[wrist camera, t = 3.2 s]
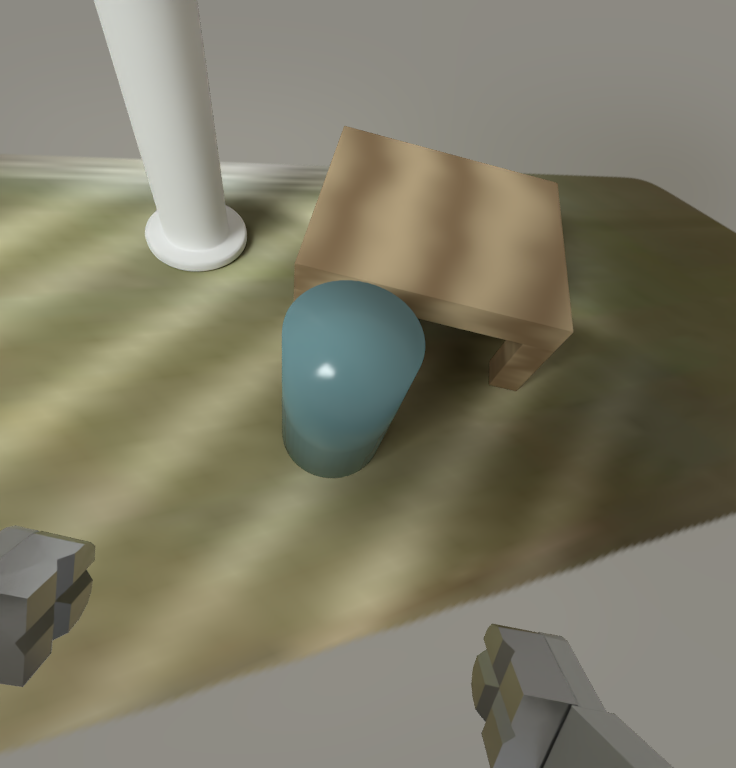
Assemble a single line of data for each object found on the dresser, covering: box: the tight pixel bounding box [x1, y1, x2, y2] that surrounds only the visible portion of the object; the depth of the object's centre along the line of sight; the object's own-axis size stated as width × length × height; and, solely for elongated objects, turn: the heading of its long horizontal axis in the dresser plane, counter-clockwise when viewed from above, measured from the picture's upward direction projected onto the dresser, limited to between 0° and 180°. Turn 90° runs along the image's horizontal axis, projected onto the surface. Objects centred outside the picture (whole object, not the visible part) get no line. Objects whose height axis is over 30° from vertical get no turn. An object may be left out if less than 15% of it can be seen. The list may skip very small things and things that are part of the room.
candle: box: [94, 0, 247, 271], centre depth 22 cm, size 7×7×25 cm
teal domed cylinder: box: [282, 280, 425, 478], centre depth 22 cm, size 6×6×10 cm
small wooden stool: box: [294, 126, 573, 391], centre depth 30 cm, size 16×14×7 cm
